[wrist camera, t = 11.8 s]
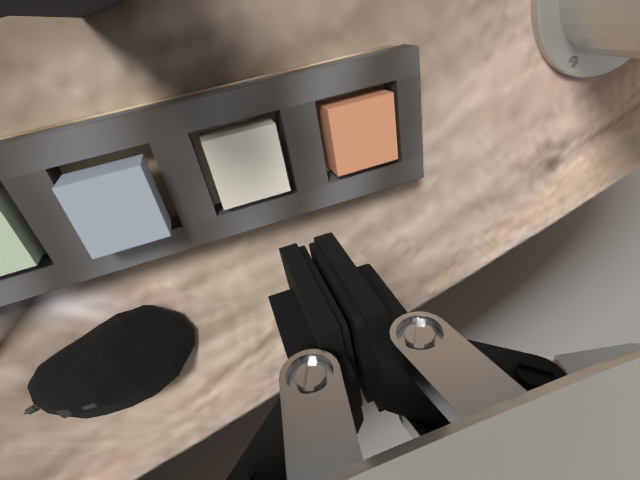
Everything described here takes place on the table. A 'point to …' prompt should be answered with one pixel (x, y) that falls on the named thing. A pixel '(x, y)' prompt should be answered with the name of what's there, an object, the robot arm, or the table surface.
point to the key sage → (16, 238)
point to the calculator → (53, 7)
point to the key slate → (114, 205)
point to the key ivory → (246, 161)
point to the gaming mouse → (114, 364)
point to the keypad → (205, 161)
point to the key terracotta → (358, 130)
